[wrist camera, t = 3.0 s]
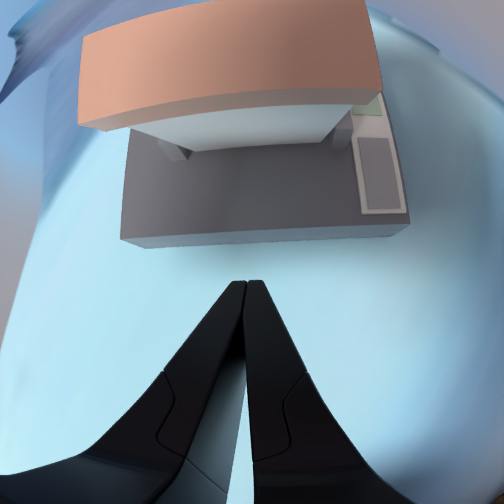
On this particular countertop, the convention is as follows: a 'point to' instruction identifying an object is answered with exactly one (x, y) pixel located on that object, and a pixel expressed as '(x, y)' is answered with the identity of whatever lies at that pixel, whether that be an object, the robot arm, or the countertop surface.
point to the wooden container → (499, 500)
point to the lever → (231, 72)
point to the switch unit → (267, 188)
